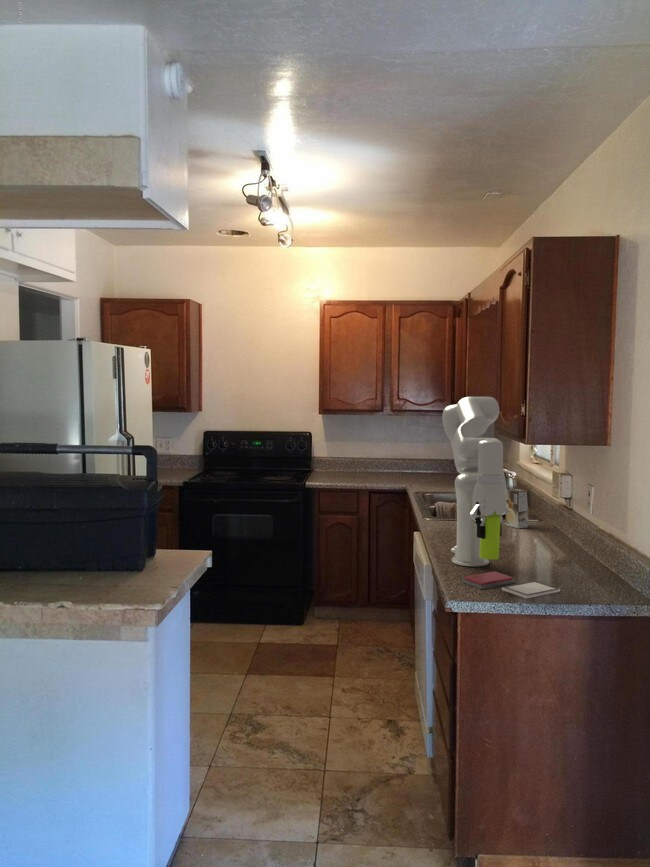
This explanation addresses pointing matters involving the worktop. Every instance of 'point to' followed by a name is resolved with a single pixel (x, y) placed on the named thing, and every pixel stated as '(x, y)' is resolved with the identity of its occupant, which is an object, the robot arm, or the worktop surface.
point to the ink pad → (488, 580)
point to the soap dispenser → (491, 538)
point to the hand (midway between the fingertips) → (489, 536)
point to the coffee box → (517, 508)
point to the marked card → (530, 589)
